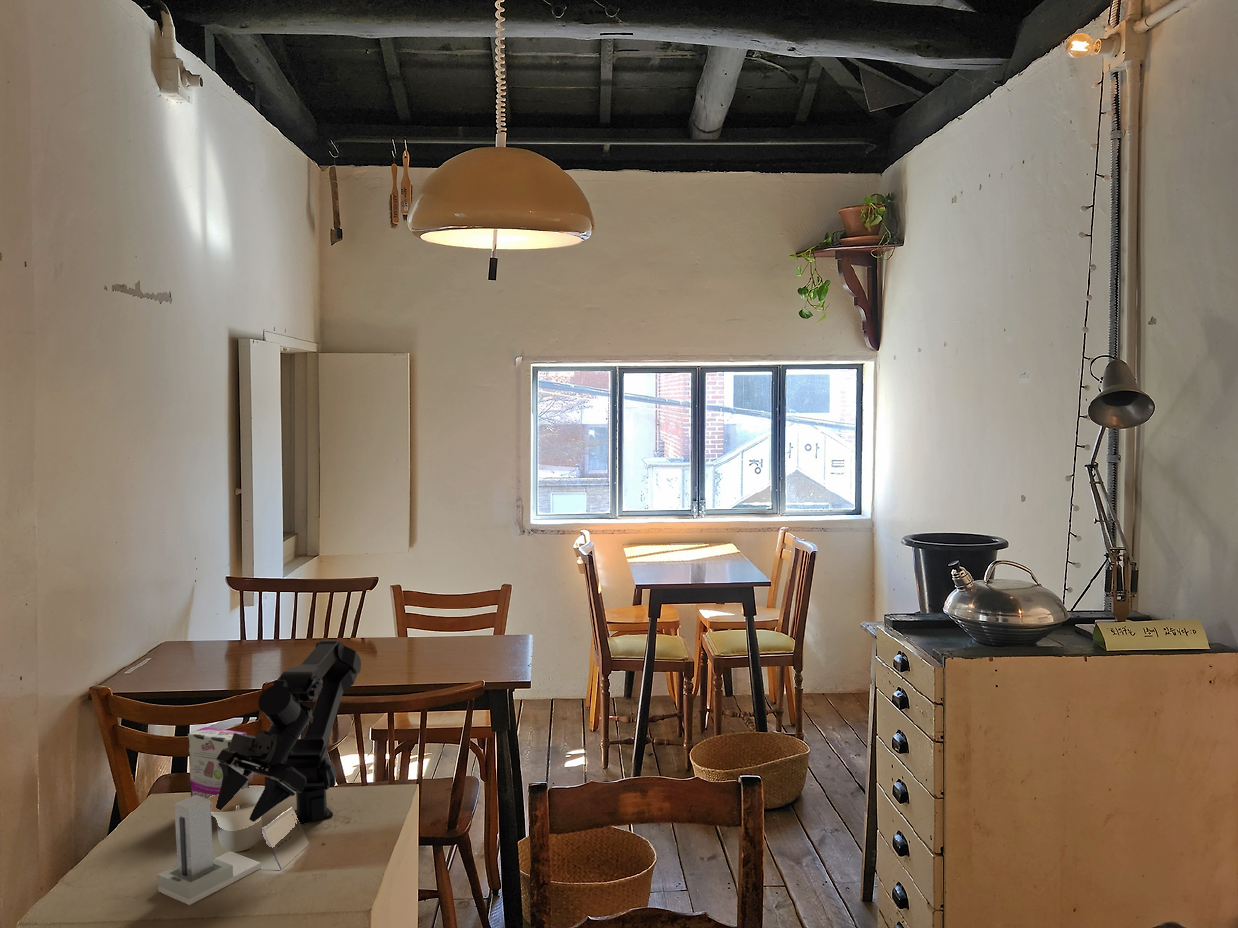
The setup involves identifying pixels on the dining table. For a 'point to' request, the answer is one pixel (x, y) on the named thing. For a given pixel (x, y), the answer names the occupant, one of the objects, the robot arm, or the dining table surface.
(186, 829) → the block
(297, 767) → the robot arm
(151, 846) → the dining table surface
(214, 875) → the white tray
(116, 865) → the dining table surface
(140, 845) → the dining table surface
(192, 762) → the candy bar box
